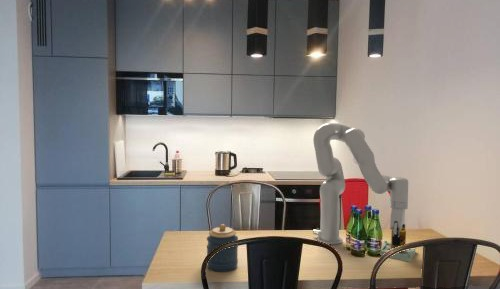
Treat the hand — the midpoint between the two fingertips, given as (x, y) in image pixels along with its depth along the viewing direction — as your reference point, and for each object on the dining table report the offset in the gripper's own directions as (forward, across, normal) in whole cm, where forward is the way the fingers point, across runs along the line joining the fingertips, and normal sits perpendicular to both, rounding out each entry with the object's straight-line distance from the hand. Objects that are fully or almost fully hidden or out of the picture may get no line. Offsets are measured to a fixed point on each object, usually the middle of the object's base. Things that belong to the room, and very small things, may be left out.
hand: (397, 242), depth 162 cm
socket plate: (+5, 0, 0) cm, 5 cm away
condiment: (+3, -1, 0) cm, 3 cm away
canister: (+5, +57, -58) cm, 82 cm away
